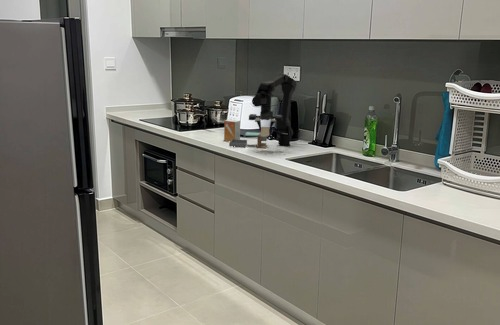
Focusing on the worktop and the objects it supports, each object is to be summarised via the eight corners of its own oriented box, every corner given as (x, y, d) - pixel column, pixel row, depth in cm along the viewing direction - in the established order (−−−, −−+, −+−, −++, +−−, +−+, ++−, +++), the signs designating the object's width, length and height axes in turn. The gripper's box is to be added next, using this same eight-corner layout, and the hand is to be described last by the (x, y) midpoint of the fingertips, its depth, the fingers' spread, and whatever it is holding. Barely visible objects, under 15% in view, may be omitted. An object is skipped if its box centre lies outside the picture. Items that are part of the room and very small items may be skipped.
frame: (266, 144, 294) (266, 132, 292) (265, 148, 281) (265, 135, 279) (258, 144, 294) (258, 131, 292) (256, 148, 281) (257, 135, 280)
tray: (246, 143, 294) (246, 139, 293) (245, 147, 283) (245, 143, 282) (231, 143, 295) (231, 139, 294) (229, 146, 283) (229, 142, 283)
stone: (269, 134, 275) (269, 126, 274) (269, 135, 270) (269, 128, 269) (261, 134, 275) (261, 126, 274) (260, 135, 271) (261, 127, 270)
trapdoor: (266, 138, 291) (267, 132, 290) (266, 141, 282) (266, 135, 281) (246, 138, 292) (246, 131, 291) (245, 140, 283) (245, 134, 282)
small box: (223, 141, 301) (224, 120, 298) (229, 139, 306) (229, 119, 303) (234, 142, 297) (235, 121, 294) (240, 141, 302) (240, 120, 300)
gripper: (248, 106, 262) (247, 134, 265) (282, 107, 260) (281, 135, 264) (249, 104, 272) (249, 131, 276) (282, 105, 271) (281, 132, 275)
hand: (265, 132), depth 272 cm, fingers closed on stone, 5 cm apart
